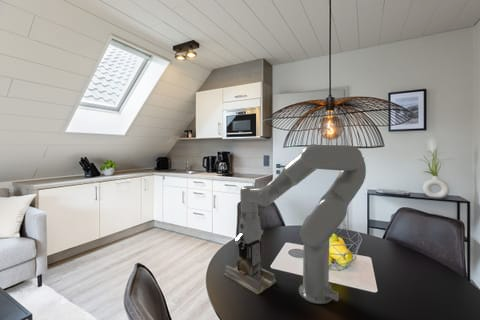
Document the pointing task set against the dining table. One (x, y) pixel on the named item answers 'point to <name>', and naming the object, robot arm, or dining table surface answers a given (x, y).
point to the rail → (251, 279)
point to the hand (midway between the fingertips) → (250, 253)
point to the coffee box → (251, 260)
